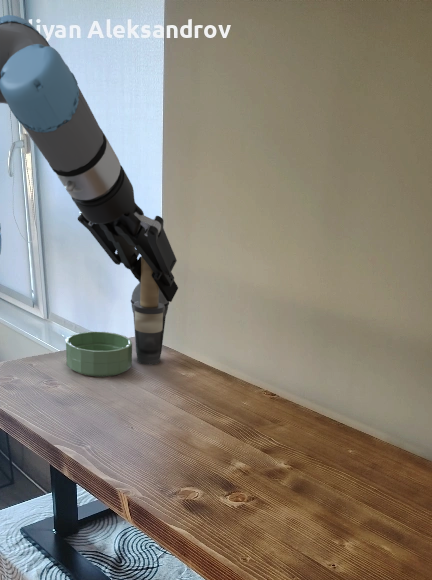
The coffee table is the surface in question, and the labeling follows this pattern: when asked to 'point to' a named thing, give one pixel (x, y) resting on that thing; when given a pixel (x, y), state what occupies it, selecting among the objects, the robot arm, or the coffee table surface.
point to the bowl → (99, 353)
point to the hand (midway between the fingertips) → (163, 292)
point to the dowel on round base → (148, 303)
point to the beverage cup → (148, 334)
